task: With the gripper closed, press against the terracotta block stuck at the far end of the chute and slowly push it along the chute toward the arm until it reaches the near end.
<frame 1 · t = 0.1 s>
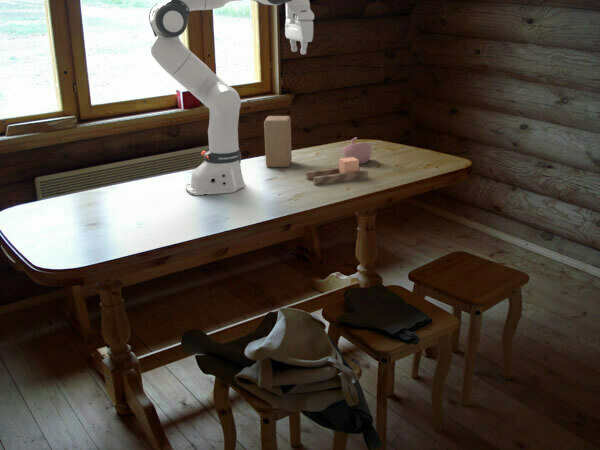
hand: (298, 52, 241), 48 cm above the table, tool pointing down, fingers open, 8 cm apart
chute: (337, 181, 251), on the table
wooden block: (279, 165, 275), on the table
mortar and pestle: (357, 165, 272), on the table
jammed block: (348, 168, 251), point 5 cm above the table, slide at 0.0 cm
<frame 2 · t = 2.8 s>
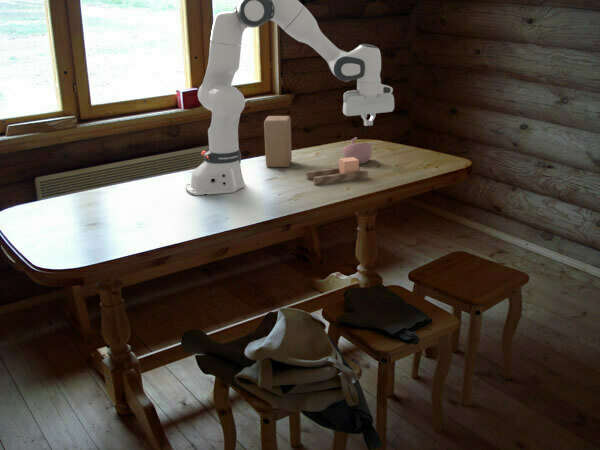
hand: (368, 125, 248), 21 cm above the table, tool pointing down, fingers closed
nothing on the table moved.
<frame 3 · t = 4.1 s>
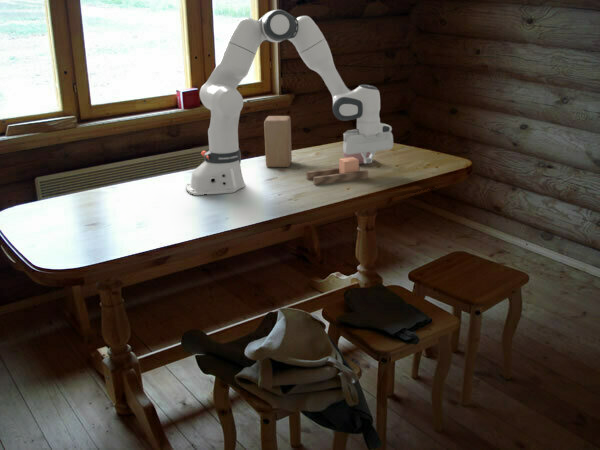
hand: (367, 162, 253), 6 cm above the table, tool pointing down, fingers closed
nothing on the table moved.
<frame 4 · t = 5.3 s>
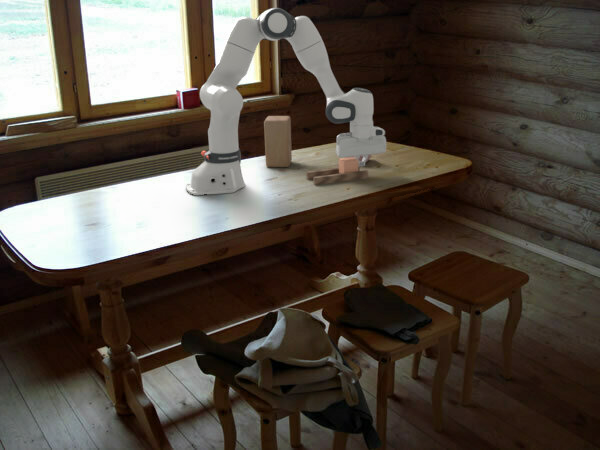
hand: (360, 166, 252), 5 cm above the table, tool pointing down, fingers closed
jammed block: (348, 168, 251), point 5 cm above the table, slide at 0.2 cm, touching gripper
everything else where it was.
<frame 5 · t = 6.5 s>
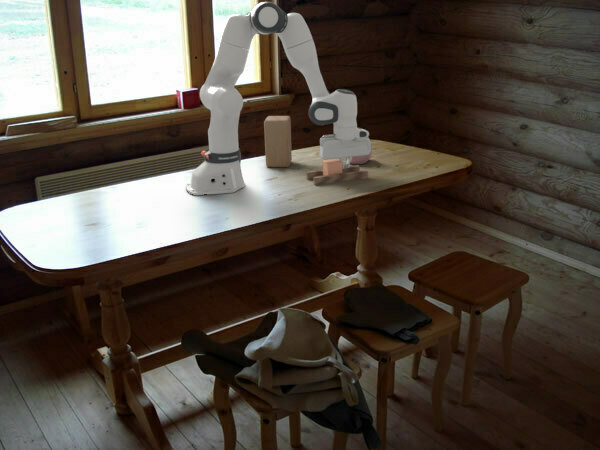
hand: (345, 168, 250), 5 cm above the table, tool pointing down, fingers closed
jammed block: (332, 170, 249), point 5 cm above the table, slide at 6.9 cm, touching gripper
everything else where it was.
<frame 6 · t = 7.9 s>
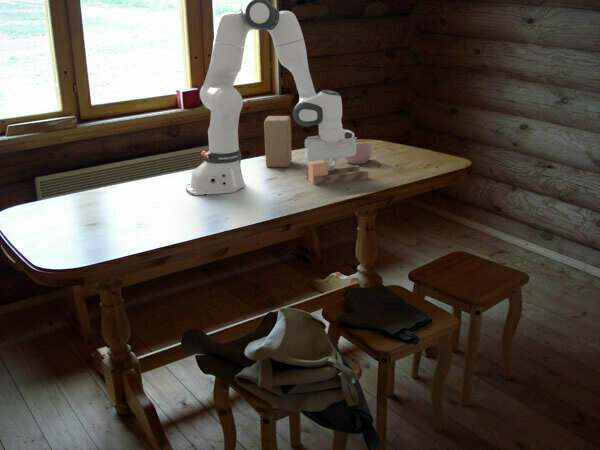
hand: (330, 169, 248), 5 cm above the table, tool pointing down, fingers closed
jammed block: (317, 172, 247), point 5 cm above the table, slide at 12.9 cm, touching gripper
everything else where it was.
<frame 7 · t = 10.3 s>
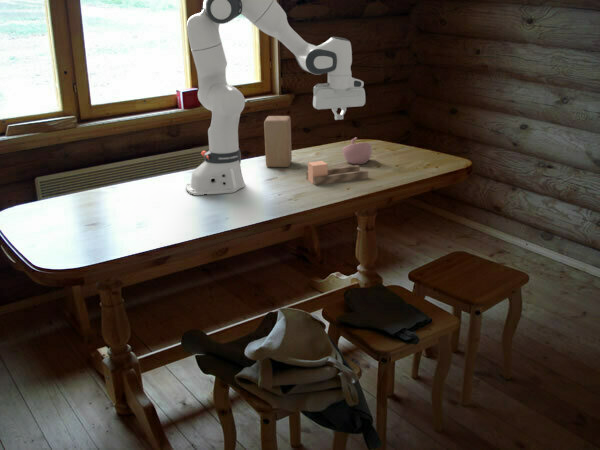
hand: (338, 119, 245), 24 cm above the table, tool pointing down, fingers closed
jammed block: (317, 172, 247), point 5 cm above the table, slide at 13.0 cm
everything else where it was.
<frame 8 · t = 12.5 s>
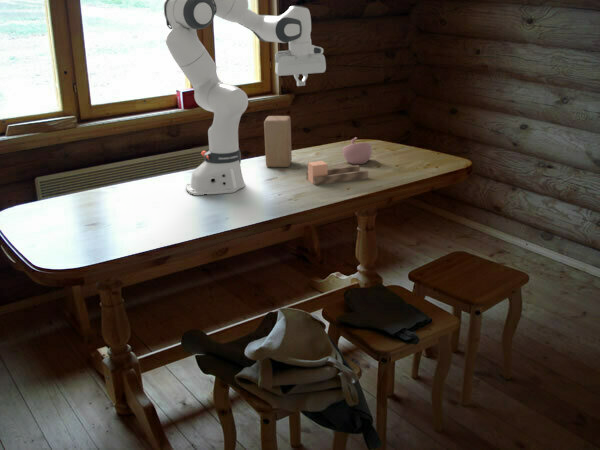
hand: (301, 85, 256), 34 cm above the table, tool pointing down, fingers closed
nothing on the table moved.
at the end: jammed block slide at 13.0 cm; jammed block moved 13.0 cm from its start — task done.
